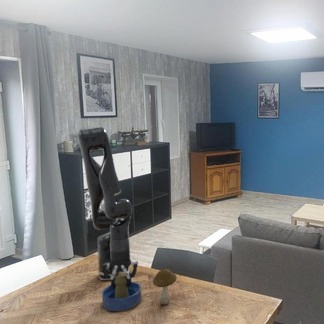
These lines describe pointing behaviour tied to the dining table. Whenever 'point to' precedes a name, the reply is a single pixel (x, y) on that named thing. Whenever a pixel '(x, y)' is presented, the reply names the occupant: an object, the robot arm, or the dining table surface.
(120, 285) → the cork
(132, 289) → the bowl
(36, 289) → the dining table surface
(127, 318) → the dining table surface
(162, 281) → the mushroom
